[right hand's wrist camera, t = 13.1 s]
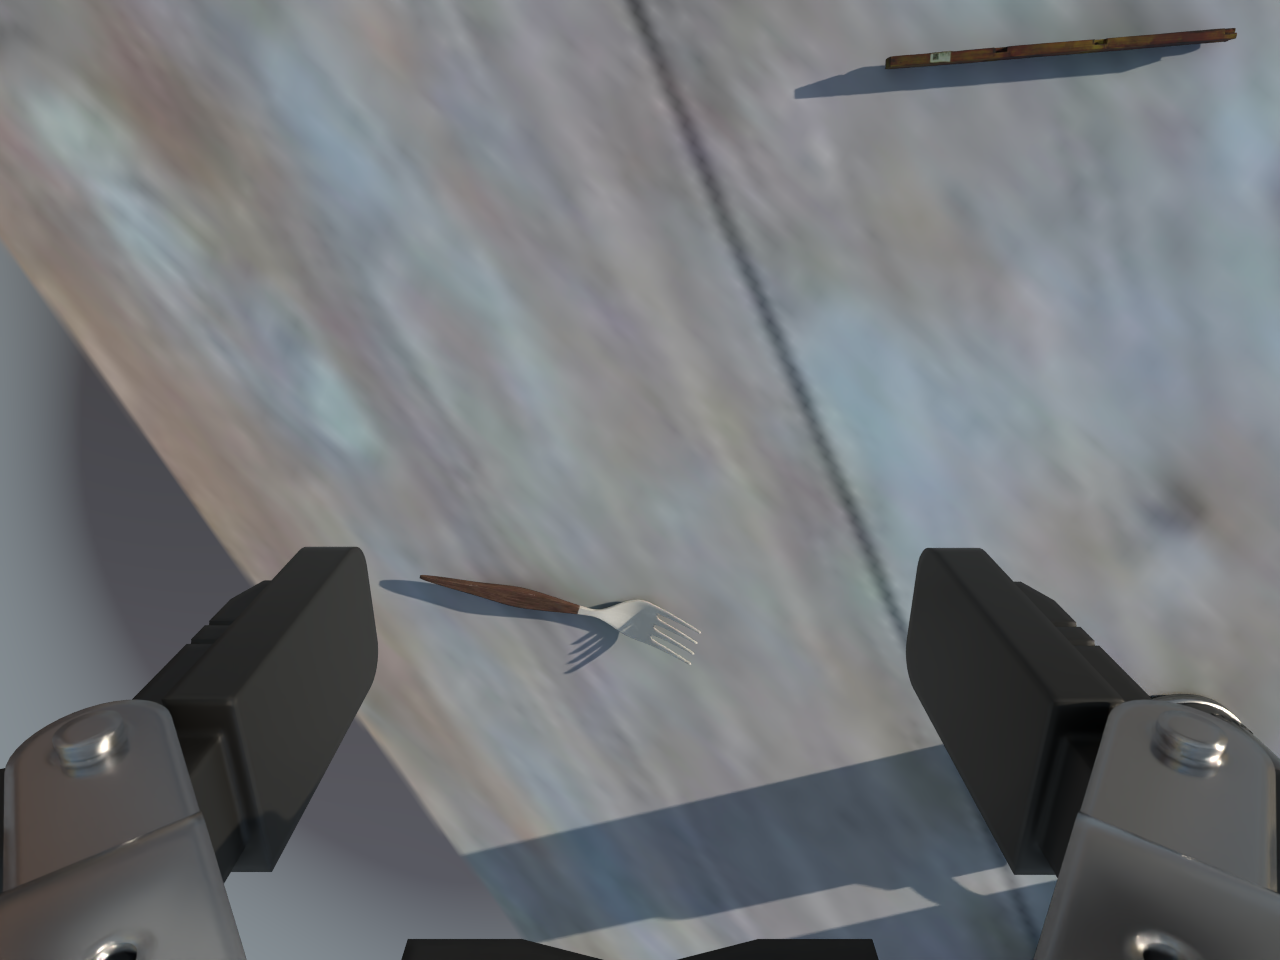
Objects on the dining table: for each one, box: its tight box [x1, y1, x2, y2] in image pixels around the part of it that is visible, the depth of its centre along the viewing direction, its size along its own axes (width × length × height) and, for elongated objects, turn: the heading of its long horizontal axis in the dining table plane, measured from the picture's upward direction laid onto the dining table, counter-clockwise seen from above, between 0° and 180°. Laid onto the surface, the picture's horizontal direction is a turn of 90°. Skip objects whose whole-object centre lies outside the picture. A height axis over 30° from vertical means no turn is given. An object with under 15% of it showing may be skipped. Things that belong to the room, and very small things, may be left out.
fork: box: [420, 575, 701, 665], centre depth 43 cm, size 3×16×2 cm, turn 76°
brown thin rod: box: [885, 28, 1237, 69], centre depth 34 cm, size 15×1×1 cm, turn 94°
